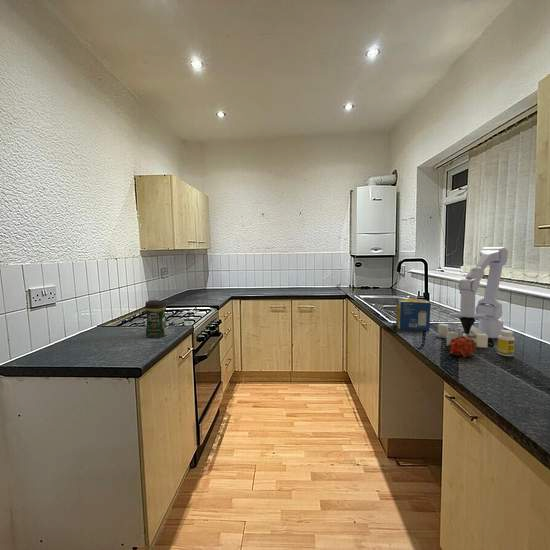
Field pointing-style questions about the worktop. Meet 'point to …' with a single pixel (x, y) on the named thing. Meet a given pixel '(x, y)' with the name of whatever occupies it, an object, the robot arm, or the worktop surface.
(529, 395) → the worktop surface
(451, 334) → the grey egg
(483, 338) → the breaker panel
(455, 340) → the dragon fruit
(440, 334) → the white cylinder tube
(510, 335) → the supplement bottle
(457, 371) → the worktop surface
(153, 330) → the coffee jar
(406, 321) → the protein box
